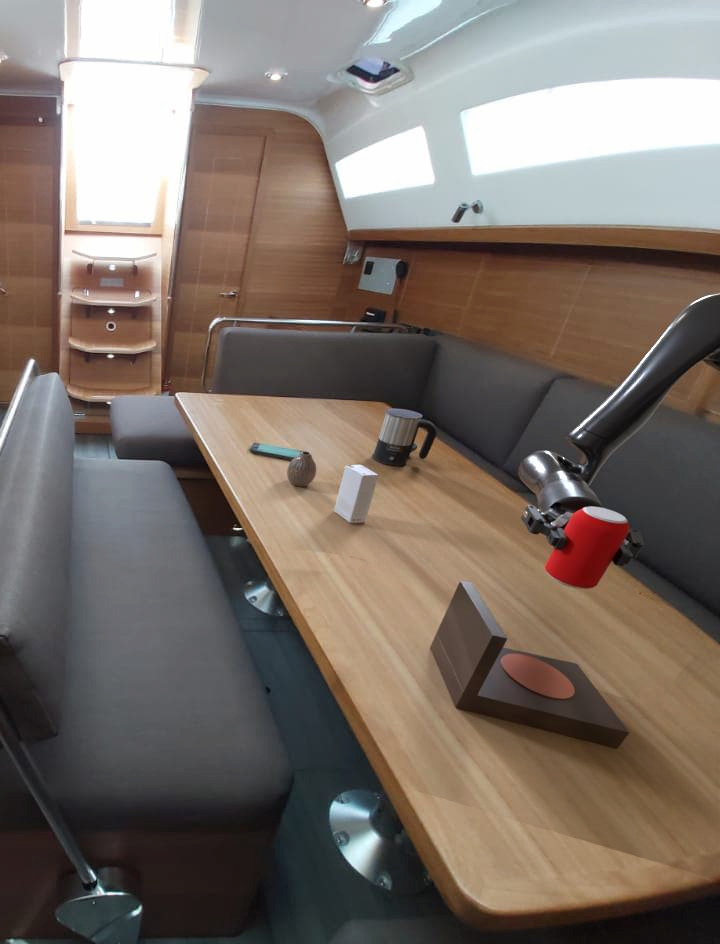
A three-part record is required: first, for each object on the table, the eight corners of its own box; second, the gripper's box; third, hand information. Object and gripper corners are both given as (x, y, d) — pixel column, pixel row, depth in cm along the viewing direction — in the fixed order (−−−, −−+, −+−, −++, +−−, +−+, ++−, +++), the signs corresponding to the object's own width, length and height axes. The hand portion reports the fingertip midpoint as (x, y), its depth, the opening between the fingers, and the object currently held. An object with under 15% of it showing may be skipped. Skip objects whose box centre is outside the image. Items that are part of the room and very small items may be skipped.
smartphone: (253, 441, 156) (304, 450, 150) (253, 445, 156) (304, 454, 150) (249, 449, 150) (303, 458, 144) (249, 453, 150) (302, 462, 144)
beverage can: (600, 585, 76) (642, 518, 71) (584, 598, 73) (625, 528, 68) (551, 564, 81) (587, 500, 75) (534, 575, 78) (569, 508, 73)
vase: (285, 486, 130) (292, 455, 126) (284, 476, 136) (291, 446, 132) (313, 491, 128) (322, 459, 124) (311, 480, 134) (319, 450, 130)
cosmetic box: (365, 522, 114) (381, 475, 109) (348, 524, 113) (363, 476, 108) (348, 509, 119) (362, 463, 114) (331, 510, 118) (345, 464, 113)
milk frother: (377, 464, 145) (392, 416, 139) (359, 445, 160) (373, 400, 153) (429, 469, 143) (448, 420, 137) (407, 449, 157) (423, 404, 151)
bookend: (567, 678, 74) (611, 609, 68) (617, 748, 63) (674, 674, 58) (429, 647, 78) (459, 580, 73) (455, 707, 68) (492, 635, 62)
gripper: (525, 476, 87) (539, 515, 74) (639, 500, 80) (675, 547, 67) (507, 513, 90) (518, 557, 77) (615, 539, 83) (646, 591, 70)
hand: (591, 552), depth 72 cm, fingers closed on beverage can, 6 cm apart
